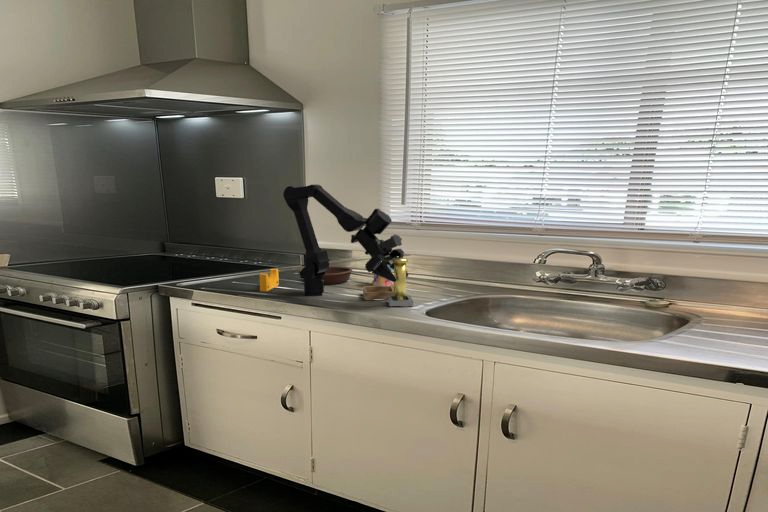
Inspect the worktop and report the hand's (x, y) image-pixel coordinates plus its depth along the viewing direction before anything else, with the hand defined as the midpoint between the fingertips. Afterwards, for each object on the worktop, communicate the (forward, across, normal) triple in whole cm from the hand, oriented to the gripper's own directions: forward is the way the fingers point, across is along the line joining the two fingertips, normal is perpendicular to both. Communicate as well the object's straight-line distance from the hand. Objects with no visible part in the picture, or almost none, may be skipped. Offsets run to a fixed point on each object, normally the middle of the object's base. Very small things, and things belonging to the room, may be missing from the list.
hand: (401, 278), depth 168 cm
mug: (-7, +24, +19) cm, 32 cm away
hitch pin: (+6, 0, +6) cm, 9 cm away
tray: (-2, +6, +14) cm, 16 cm away
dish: (-24, +23, +36) cm, 48 cm away
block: (+6, 0, +6) cm, 9 cm away
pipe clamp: (-34, +1, +46) cm, 57 cm away
